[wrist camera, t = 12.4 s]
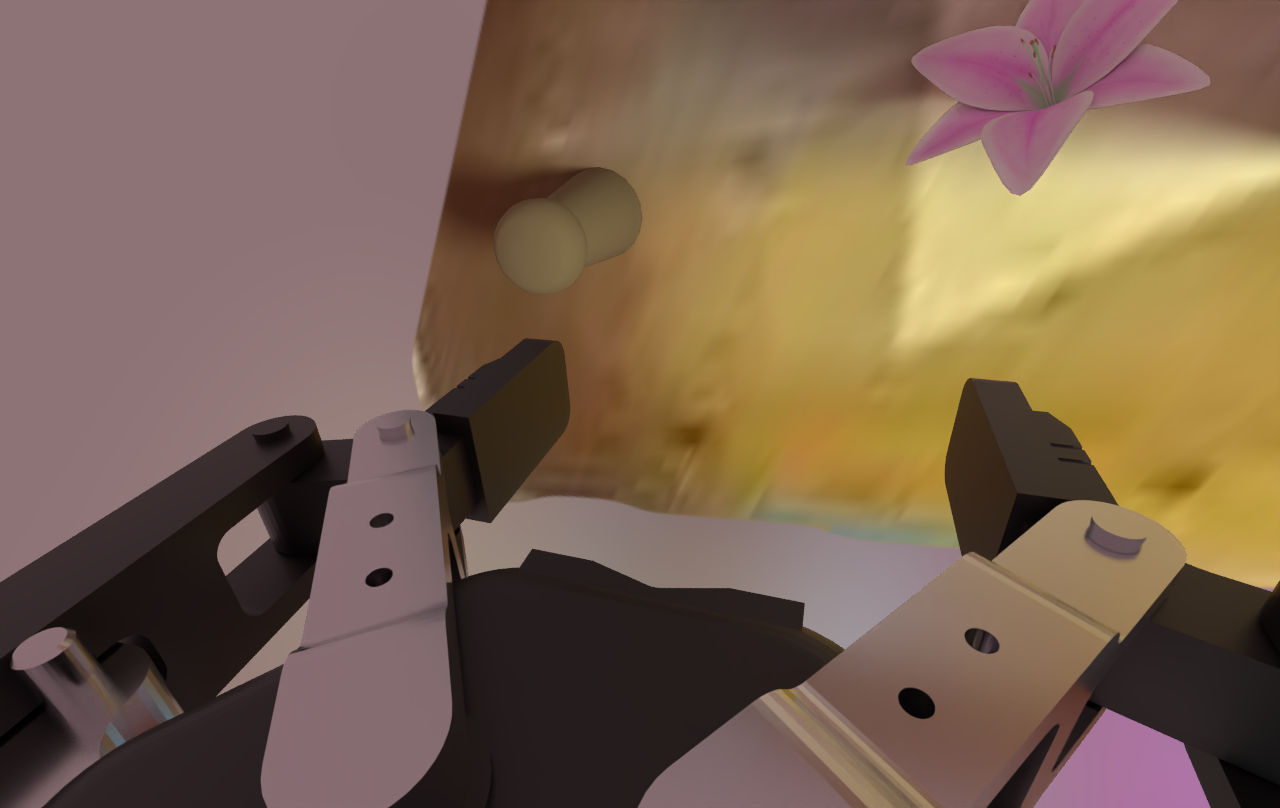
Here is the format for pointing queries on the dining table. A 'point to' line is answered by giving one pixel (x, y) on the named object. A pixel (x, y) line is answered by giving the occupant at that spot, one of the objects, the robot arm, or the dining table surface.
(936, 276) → the dining table surface
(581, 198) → the cork
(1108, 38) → the lily
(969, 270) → the dining table surface
